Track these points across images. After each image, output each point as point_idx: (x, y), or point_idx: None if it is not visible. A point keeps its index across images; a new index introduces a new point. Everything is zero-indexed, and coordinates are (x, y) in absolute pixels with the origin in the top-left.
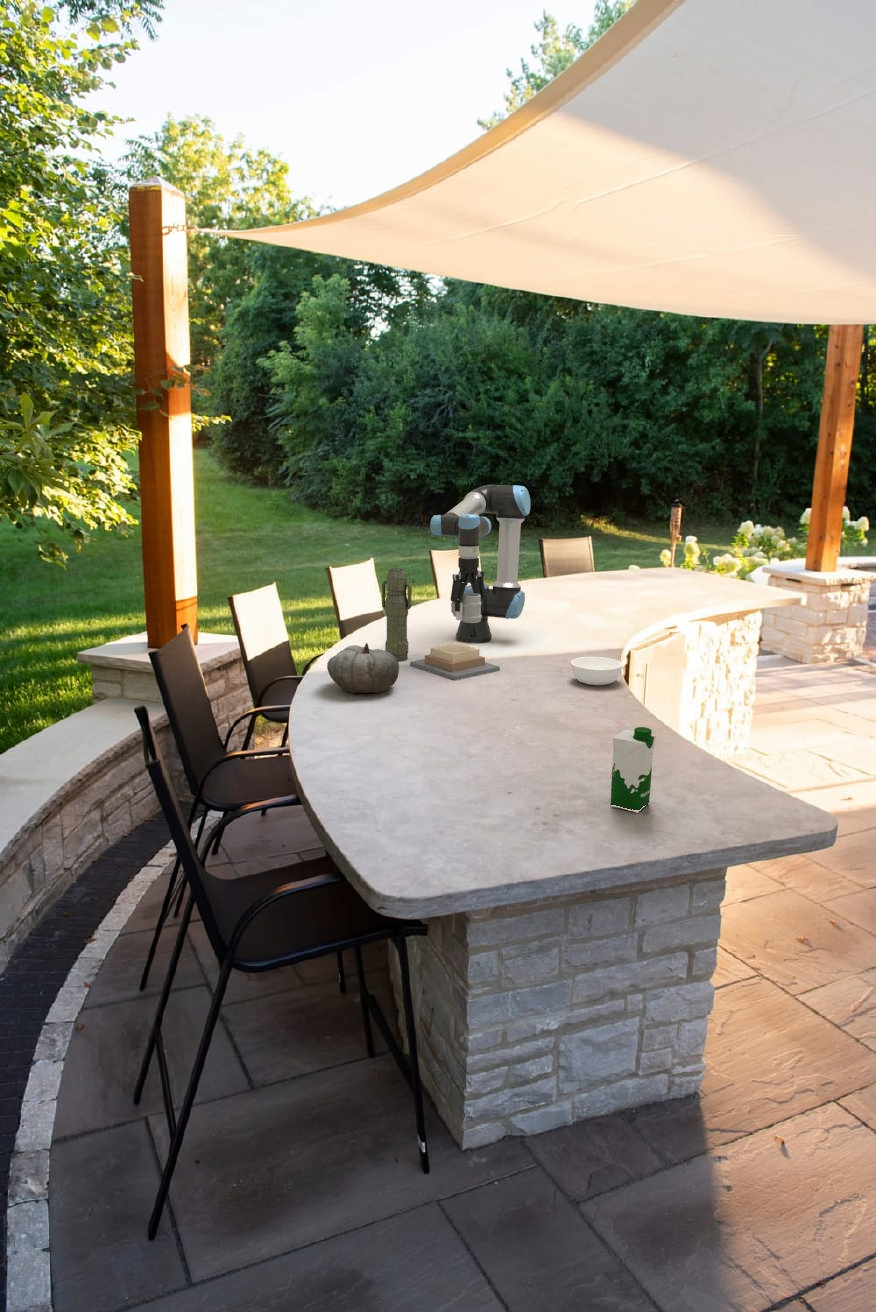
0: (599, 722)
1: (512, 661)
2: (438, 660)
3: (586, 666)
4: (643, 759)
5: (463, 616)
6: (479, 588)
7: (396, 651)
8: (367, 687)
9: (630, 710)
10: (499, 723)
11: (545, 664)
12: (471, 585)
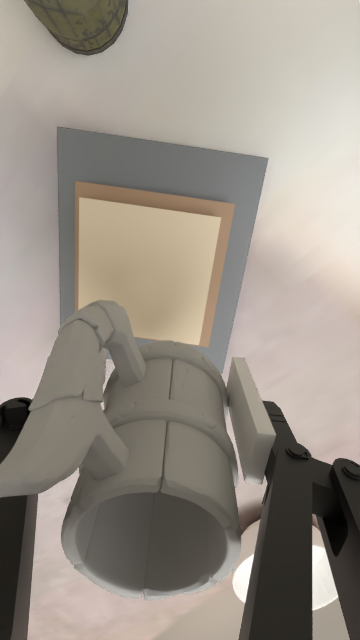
0: (91, 611)
1: (325, 336)
2: (75, 263)
3: (314, 530)
4: None
5: (104, 397)
6: (358, 573)
7: (32, 10)
8: None
9: (170, 614)
10: None
11: (347, 409)
12: (249, 619)
